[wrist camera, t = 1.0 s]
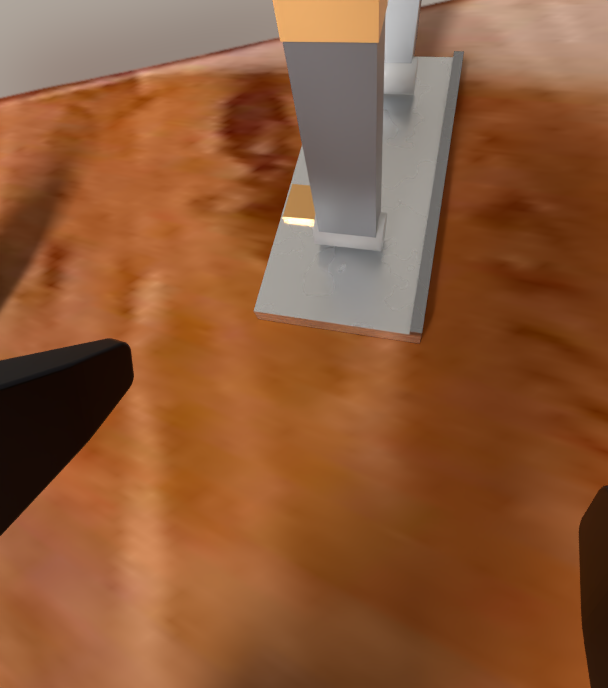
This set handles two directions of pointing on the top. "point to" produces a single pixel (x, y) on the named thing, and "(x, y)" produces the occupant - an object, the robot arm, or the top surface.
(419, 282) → the switch console
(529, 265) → the top surface
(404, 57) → the paddle
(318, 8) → the paddle
